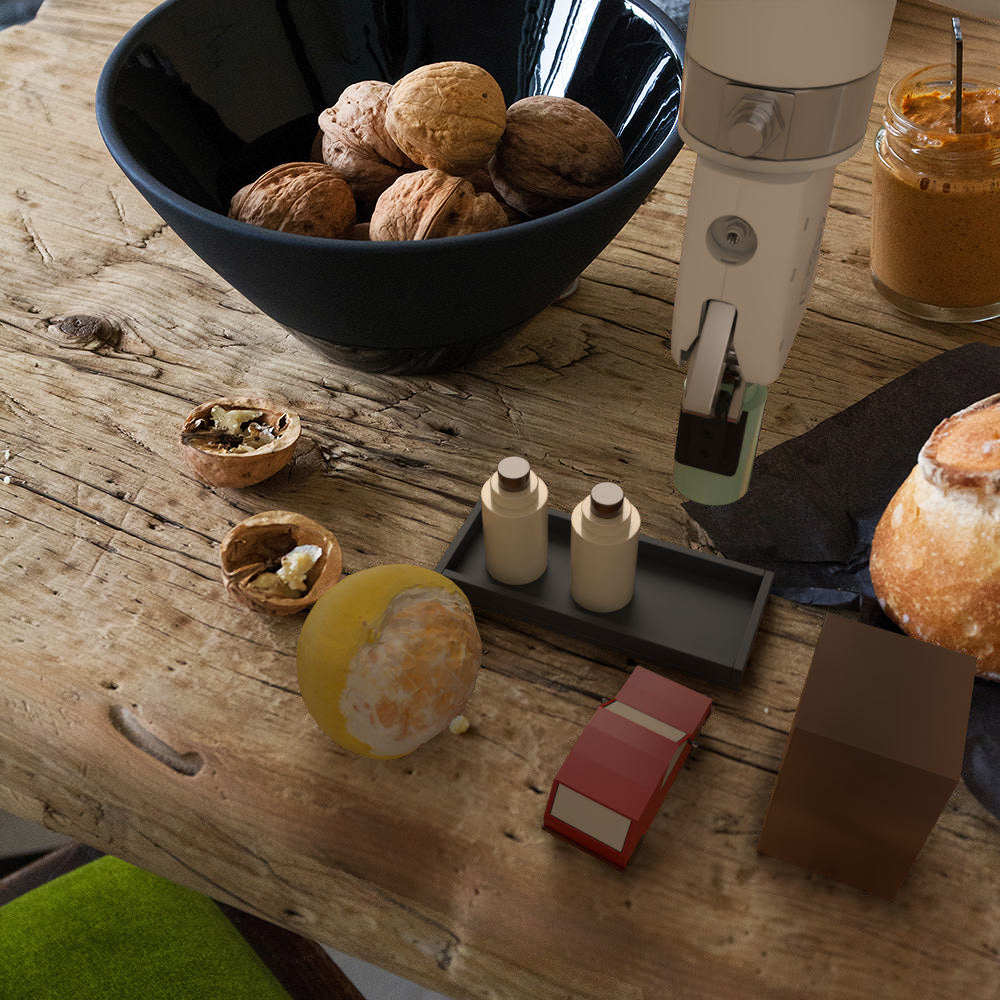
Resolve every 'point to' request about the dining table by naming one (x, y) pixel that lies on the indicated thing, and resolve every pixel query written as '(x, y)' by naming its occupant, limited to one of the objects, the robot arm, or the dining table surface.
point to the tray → (631, 601)
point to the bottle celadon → (730, 489)
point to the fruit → (388, 659)
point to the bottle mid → (604, 549)
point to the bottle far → (515, 523)
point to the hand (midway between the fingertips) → (718, 433)
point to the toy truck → (625, 767)
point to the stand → (869, 755)
